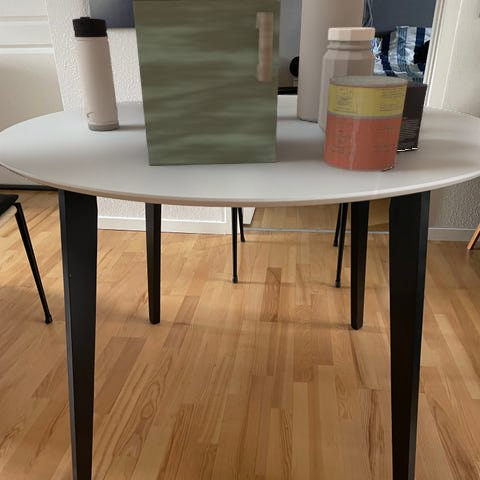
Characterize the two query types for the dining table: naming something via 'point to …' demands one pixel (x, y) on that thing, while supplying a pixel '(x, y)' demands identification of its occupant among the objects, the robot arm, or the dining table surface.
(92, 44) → the travel mug
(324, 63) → the jar
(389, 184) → the dining table surface
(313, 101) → the cylinder vase
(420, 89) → the small box
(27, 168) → the dining table surface
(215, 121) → the door
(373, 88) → the canned food
